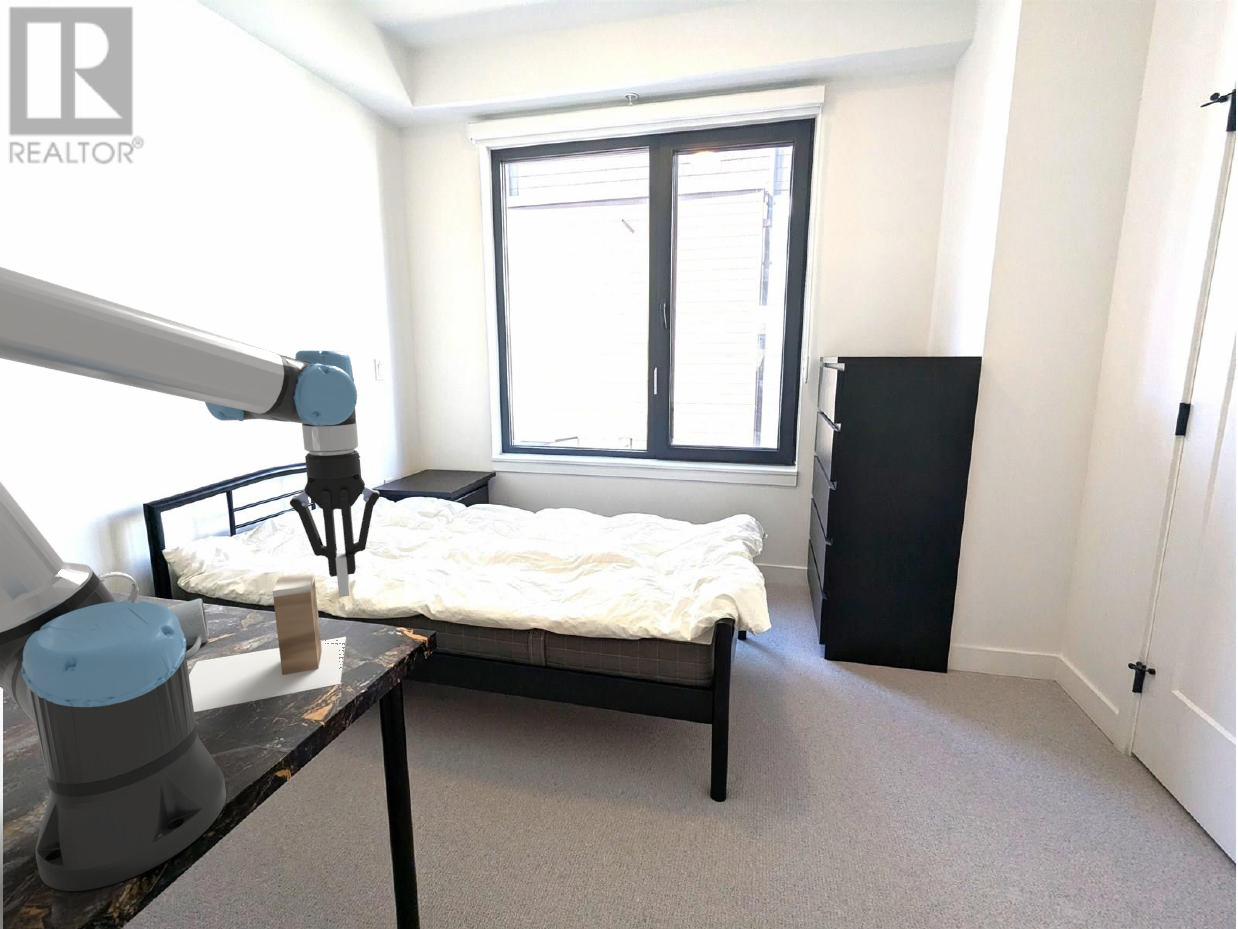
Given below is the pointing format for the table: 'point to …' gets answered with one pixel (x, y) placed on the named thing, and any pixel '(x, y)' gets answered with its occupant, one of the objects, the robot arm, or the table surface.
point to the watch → (119, 574)
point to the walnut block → (297, 623)
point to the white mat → (259, 677)
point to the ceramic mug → (192, 623)
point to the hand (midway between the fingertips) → (344, 593)
